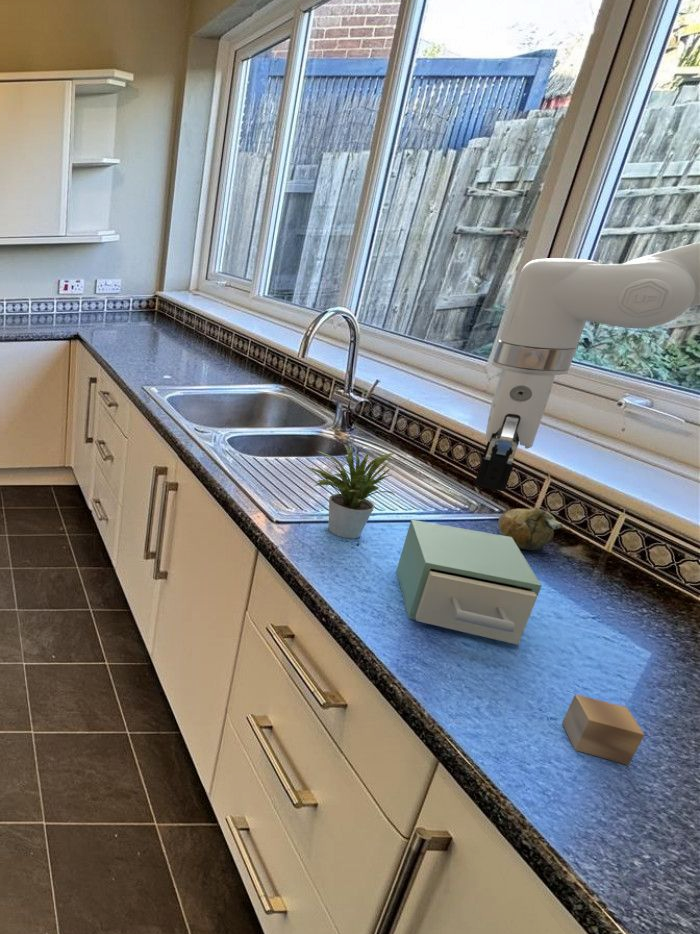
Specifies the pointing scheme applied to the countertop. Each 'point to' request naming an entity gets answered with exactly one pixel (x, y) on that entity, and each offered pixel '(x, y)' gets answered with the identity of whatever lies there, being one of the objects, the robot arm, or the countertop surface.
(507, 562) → the green drawer box
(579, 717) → the block
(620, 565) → the countertop surface
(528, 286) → the robot arm
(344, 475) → the house plant
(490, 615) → the beige cabinet drawer
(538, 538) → the onion
